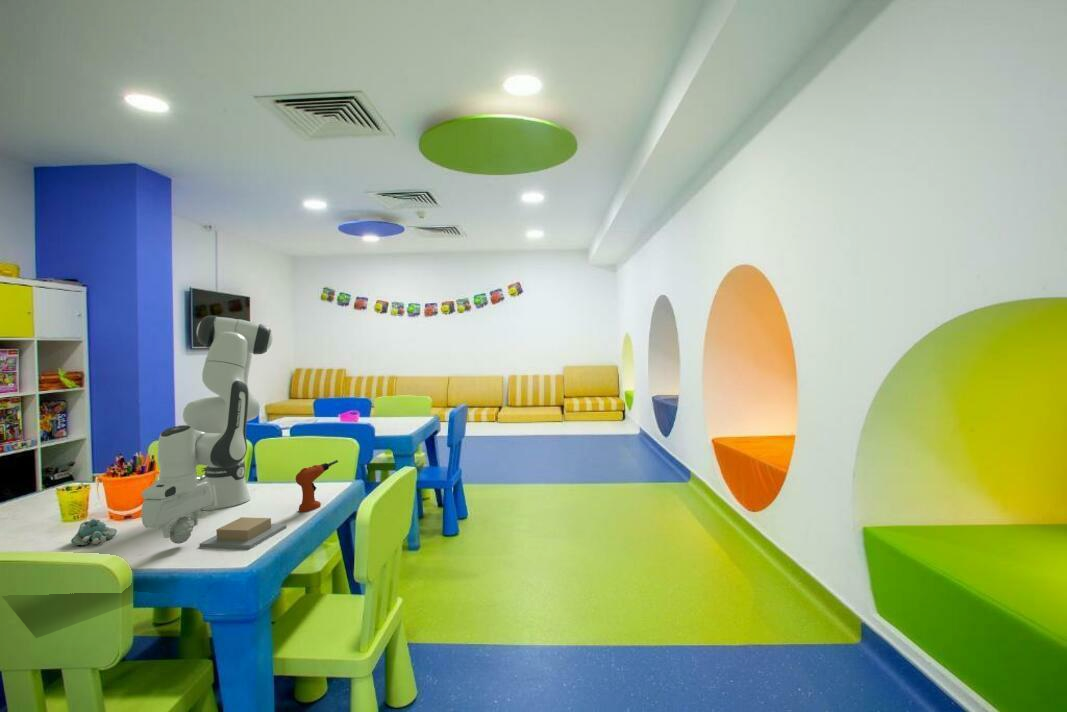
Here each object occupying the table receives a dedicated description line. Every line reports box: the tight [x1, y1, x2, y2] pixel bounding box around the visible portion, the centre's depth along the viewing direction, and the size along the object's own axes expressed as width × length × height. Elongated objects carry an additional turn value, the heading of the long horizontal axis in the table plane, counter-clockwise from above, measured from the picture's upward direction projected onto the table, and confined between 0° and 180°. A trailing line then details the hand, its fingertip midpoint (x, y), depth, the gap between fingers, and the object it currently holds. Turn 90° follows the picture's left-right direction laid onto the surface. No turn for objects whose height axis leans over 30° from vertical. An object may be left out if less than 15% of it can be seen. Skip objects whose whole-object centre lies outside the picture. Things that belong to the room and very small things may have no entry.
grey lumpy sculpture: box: [168, 516, 195, 545], centre depth 145 cm, size 6×7×7 cm
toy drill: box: [295, 459, 339, 513], centre depth 180 cm, size 5×19×15 cm, turn 156°
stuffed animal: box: [70, 518, 118, 547], centre depth 151 cm, size 11×7×12 cm
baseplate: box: [199, 517, 287, 550], centre depth 151 cm, size 16×16×4 cm
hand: (181, 531), depth 145 cm, fingers closed on grey lumpy sculpture, 7 cm apart
